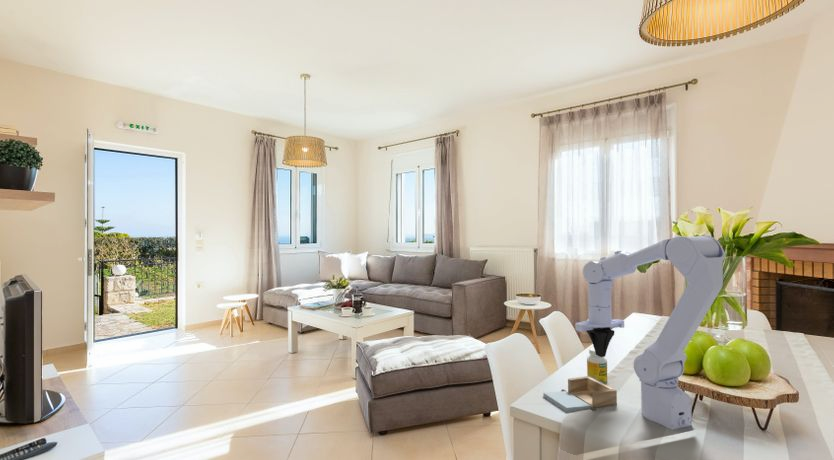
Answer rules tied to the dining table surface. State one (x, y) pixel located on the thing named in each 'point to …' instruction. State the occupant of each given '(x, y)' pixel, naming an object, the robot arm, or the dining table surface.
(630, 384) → the dining table surface
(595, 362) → the supplement bottle
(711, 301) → the robot arm
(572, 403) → the panel
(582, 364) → the dining table surface
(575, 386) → the crate
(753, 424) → the dining table surface
